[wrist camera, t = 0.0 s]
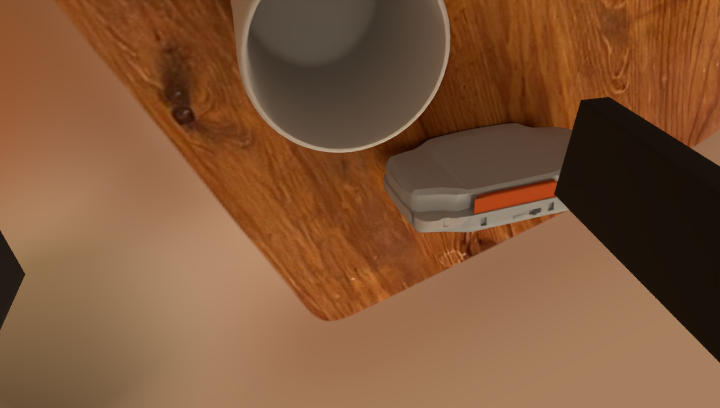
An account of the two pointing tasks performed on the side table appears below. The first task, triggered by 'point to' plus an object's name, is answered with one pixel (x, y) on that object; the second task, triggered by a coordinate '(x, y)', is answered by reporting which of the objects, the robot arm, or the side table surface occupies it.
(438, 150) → the grey case
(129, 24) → the side table surface
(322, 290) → the side table surface
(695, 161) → the robot arm
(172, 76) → the side table surface
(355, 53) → the mug
